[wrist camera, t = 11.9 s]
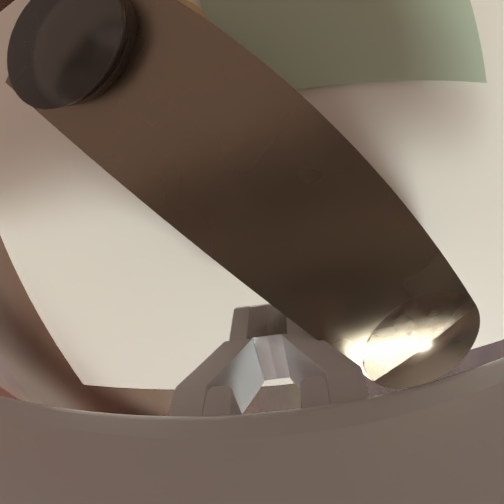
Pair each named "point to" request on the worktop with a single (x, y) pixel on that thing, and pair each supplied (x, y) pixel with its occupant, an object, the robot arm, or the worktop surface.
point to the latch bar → (247, 177)
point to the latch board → (333, 109)
